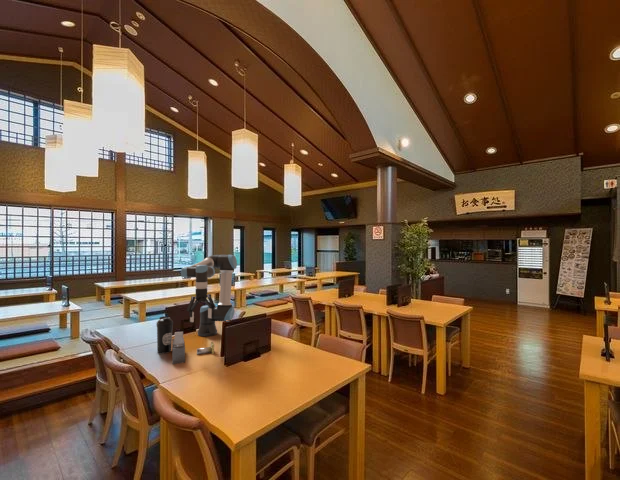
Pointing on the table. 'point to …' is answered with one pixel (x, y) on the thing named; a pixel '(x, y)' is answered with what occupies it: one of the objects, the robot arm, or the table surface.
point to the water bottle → (164, 335)
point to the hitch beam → (178, 353)
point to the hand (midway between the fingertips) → (201, 319)
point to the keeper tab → (178, 338)
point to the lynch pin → (206, 349)
